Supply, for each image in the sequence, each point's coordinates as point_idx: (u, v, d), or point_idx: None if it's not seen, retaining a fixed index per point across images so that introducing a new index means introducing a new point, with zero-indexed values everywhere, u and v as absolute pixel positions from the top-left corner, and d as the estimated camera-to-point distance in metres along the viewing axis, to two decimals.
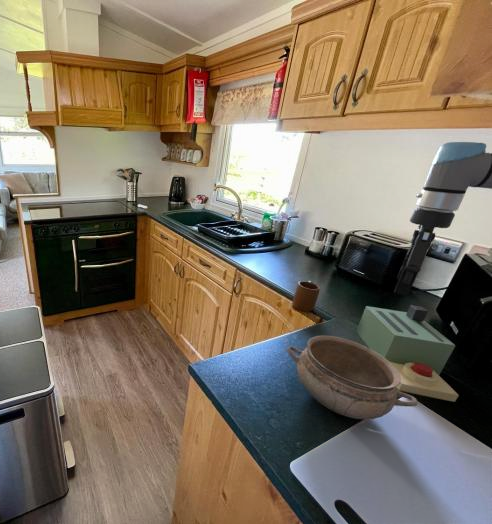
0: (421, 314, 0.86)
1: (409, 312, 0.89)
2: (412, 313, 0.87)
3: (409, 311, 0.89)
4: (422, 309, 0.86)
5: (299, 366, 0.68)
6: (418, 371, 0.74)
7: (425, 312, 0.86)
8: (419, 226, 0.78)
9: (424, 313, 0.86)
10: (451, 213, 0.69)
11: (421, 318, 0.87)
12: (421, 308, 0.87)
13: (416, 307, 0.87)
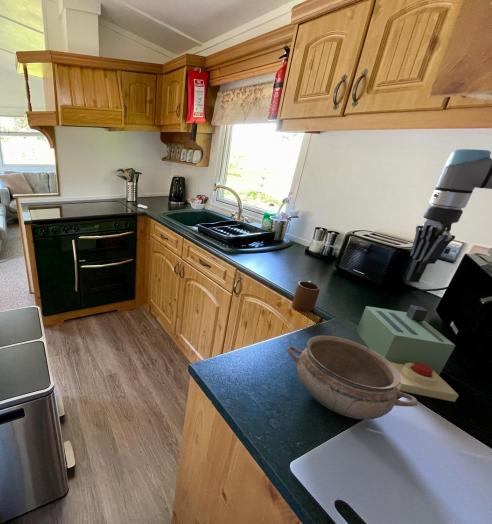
0: (421, 314, 0.86)
1: (409, 312, 0.89)
2: (412, 313, 0.87)
3: (409, 311, 0.89)
4: (422, 309, 0.86)
5: (299, 366, 0.68)
6: (418, 371, 0.74)
7: (425, 312, 0.86)
8: (418, 226, 0.91)
9: (424, 313, 0.86)
10: None
11: (421, 318, 0.87)
12: (421, 308, 0.87)
13: (416, 307, 0.87)
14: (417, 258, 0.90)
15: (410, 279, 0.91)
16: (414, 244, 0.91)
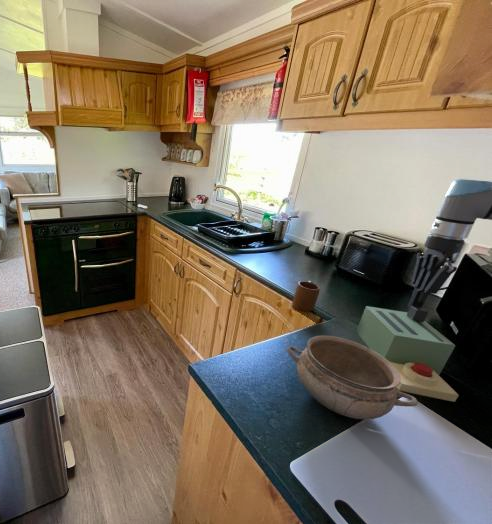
0: (422, 314, 0.86)
1: (410, 312, 0.89)
2: (413, 313, 0.87)
3: (410, 311, 0.89)
4: (423, 309, 0.86)
5: (299, 366, 0.68)
6: (418, 371, 0.74)
7: (426, 312, 0.86)
8: (419, 253, 0.89)
9: (424, 314, 0.86)
10: (463, 240, 0.79)
11: (422, 318, 0.86)
12: (422, 308, 0.87)
13: (417, 307, 0.87)
14: (418, 287, 0.88)
15: None
16: (415, 272, 0.89)
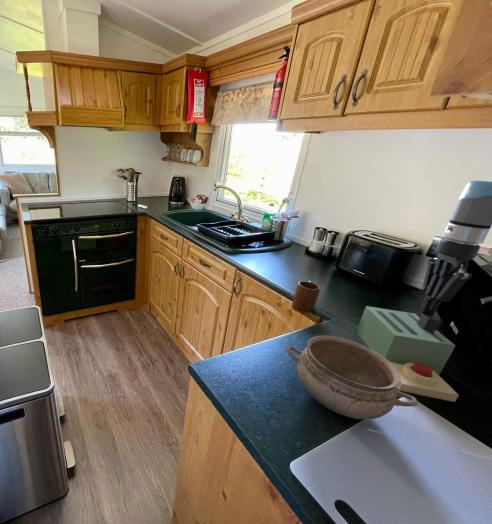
0: (433, 323, 0.81)
1: (420, 321, 0.84)
2: (424, 322, 0.83)
3: (420, 320, 0.84)
4: (434, 318, 0.81)
5: (299, 366, 0.68)
6: (418, 371, 0.74)
7: (438, 321, 0.81)
8: (430, 259, 0.84)
9: (436, 323, 0.81)
10: (478, 245, 0.74)
11: (434, 327, 0.82)
12: (433, 317, 0.82)
13: (428, 316, 0.82)
14: (429, 294, 0.83)
15: None
16: (426, 278, 0.85)
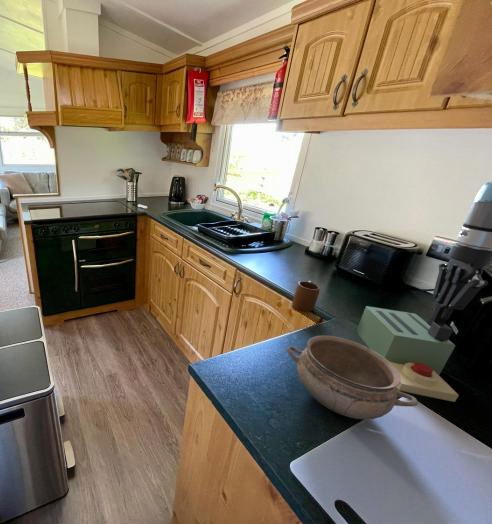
0: (445, 333, 0.77)
1: (431, 330, 0.80)
2: (435, 331, 0.78)
3: (431, 329, 0.80)
4: (446, 327, 0.77)
5: (299, 366, 0.68)
6: (418, 371, 0.74)
7: (450, 331, 0.77)
8: (441, 264, 0.80)
9: (448, 332, 0.77)
10: None
11: (446, 337, 0.77)
12: (445, 326, 0.78)
13: (439, 325, 0.78)
14: (441, 301, 0.79)
15: None
16: (437, 284, 0.80)
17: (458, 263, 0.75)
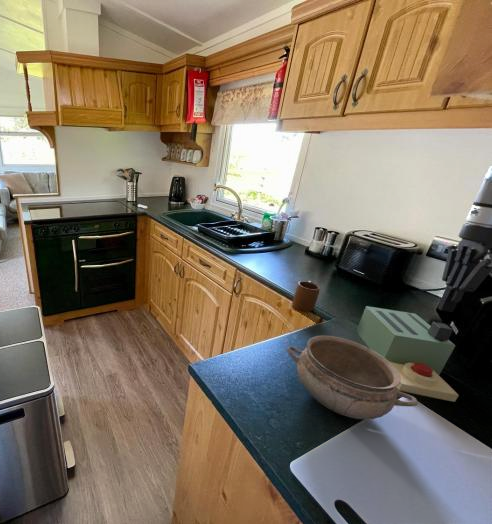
0: (445, 333, 0.77)
1: (431, 329, 0.80)
2: (435, 331, 0.78)
3: (431, 329, 0.80)
4: (446, 327, 0.77)
5: (299, 366, 0.68)
6: (418, 371, 0.74)
7: (450, 331, 0.77)
8: (451, 246, 0.78)
9: (448, 332, 0.77)
10: None
11: (446, 337, 0.77)
12: (445, 326, 0.78)
13: (439, 325, 0.78)
14: (451, 284, 0.77)
15: (443, 308, 0.78)
16: (446, 267, 0.78)
17: (468, 243, 0.73)
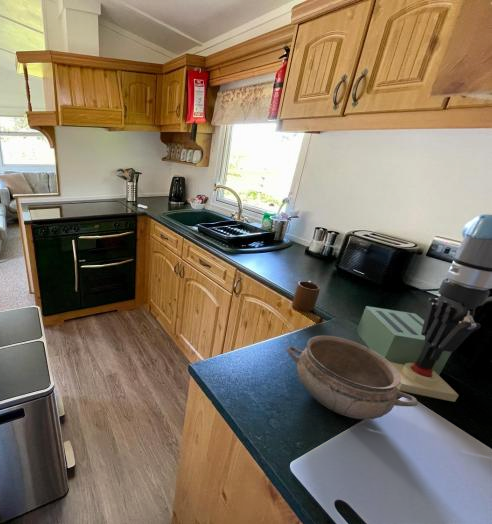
0: None
1: None
2: None
3: None
4: None
5: (299, 366, 0.68)
6: (418, 371, 0.74)
7: None
8: (431, 299, 0.73)
9: None
10: (488, 289, 0.64)
11: None
12: None
13: None
14: (430, 340, 0.72)
15: (421, 365, 0.73)
16: (426, 321, 0.74)
17: (448, 300, 0.68)
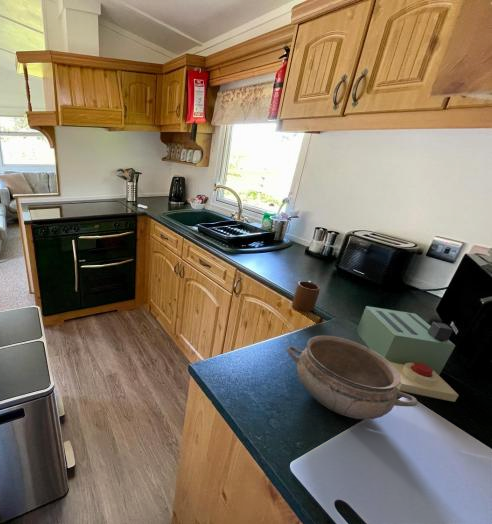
0: (445, 333, 0.77)
1: (431, 329, 0.80)
2: (435, 331, 0.78)
3: (431, 329, 0.80)
4: (446, 327, 0.77)
5: (299, 366, 0.68)
6: (418, 371, 0.74)
7: (450, 331, 0.77)
8: None
9: (448, 332, 0.77)
10: None
11: (446, 337, 0.77)
12: (445, 326, 0.78)
13: (439, 325, 0.78)
14: None
15: None
16: None
17: None
